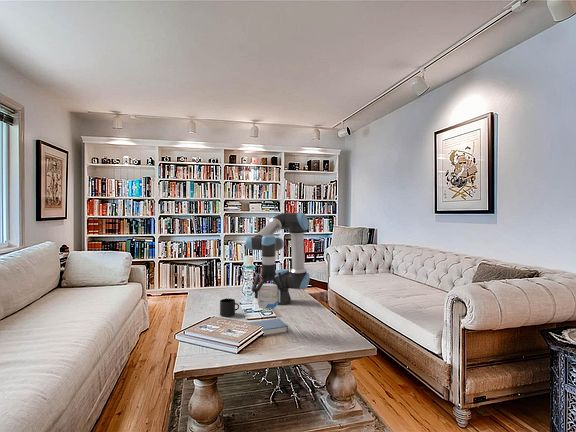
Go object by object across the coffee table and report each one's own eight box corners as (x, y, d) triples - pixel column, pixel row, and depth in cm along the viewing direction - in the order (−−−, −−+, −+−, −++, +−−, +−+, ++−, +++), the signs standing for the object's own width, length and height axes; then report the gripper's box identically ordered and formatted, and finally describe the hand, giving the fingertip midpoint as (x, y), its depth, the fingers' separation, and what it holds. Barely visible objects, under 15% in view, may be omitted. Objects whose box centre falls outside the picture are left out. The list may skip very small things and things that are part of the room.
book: (279, 324, 187) (279, 318, 187) (287, 332, 175) (287, 325, 175) (249, 328, 180) (249, 322, 180) (256, 337, 168) (256, 330, 168)
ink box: (278, 304, 180) (278, 284, 180) (272, 309, 172) (272, 287, 172) (264, 303, 183) (264, 282, 183) (258, 307, 175) (258, 286, 175)
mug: (239, 316, 200) (239, 302, 200) (219, 317, 198) (219, 303, 198) (238, 311, 209) (238, 297, 209) (220, 312, 207) (220, 298, 207)
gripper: (285, 261, 185) (285, 298, 186) (245, 264, 176) (245, 303, 176) (290, 263, 178) (290, 302, 179) (249, 266, 169) (249, 307, 169)
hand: (268, 303), depth 177 cm, fingers closed on ink box, 11 cm apart
